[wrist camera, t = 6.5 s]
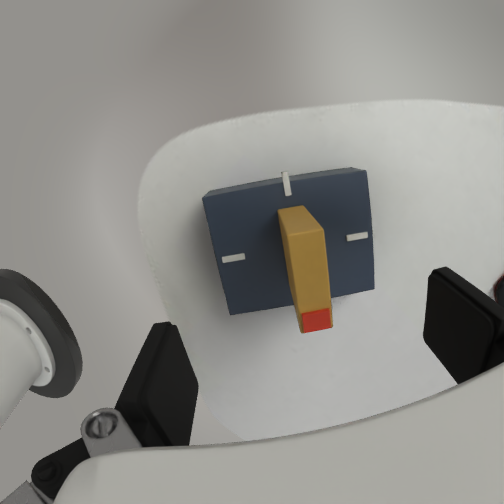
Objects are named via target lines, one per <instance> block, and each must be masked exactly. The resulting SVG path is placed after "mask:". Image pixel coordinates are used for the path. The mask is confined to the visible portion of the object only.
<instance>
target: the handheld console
mask: <svg viewBox="0 0 504 504" xmlns="http://www.w3.org/2000/svg"><path fill="white" fill-rule="evenodd" d="M495 294H496V299H497V303H498V304H499V305H501V306H502V307H503V308H504V277H503V278H502V279H501V280H500V281H499V282H498V284H497V285H496V289H495Z"/></svg>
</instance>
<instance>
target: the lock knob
mask: <svg viewBox="0 0 504 504" xmlns="http://www.w3.org/2000/svg"><path fill="white" fill-rule="evenodd" d="M277 212H278V218H279V224H280V230H281V236H282V242H283V248H284V254H285V260H286V267H287V273H288V279H289V286H290V290H291V294H292V298H293V302H294V306H295V311H296V315H297V319H298V323H299V328H300V332H301V333H307V332H313V331H318V330H323V329H328V328H332V326H333V321H332V308H331V295H330V284H329V273H328V263H327V254H326V245H325V236H324V230H323V228H322V227H321V226H320V224H319V223H318V222H317V221H316V220H315V218H314V217H313V216H312V215H311V214H310V213H309V211H308V210H307V209H306V208H305V207H304V206H303V205H301V206H295V207H289V208H283V209H278V210H277Z"/></svg>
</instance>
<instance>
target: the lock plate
mask: <svg viewBox="0 0 504 504" xmlns="http://www.w3.org/2000/svg"><path fill="white" fill-rule="evenodd" d="M281 173H282V177H281V178H276V179H270V180H264V181H258V182H253V183H247V184H242V185H237V186H232V187H226V188H221V189H216V190H212V191H209V192H208V193H207V194H206V195H205V196H204V197H203V198H202V200H203V204H204V209H205V213H206V218H207V222H208V227H209V231H210V235H211V240H212V244H213V248H214V252H215V256H216V261H217V265H218V269H219V273H220V277H221V281H222V285H223V289H224V293H225V297H226V301H227V305H228V309H229V313H230V315H235V314H241V313H248V312H254V311H261V310H267V309H273V308H279V307H285V306H290V305H294V302H293V298H292V294H291V290H290V286H289V279H288V273H287V267H286V260H285V254H284V248H283V242H282V236H281V230H280V224H279V218H278V212H277V210H278V209H283V208H289V207H295V206H301V205H303V206H304V207H305V208H306V209H307V210H308V211H309V213H310V214H311V215H312V216H313V217H314V218H315V220H316V221H317V222H318V223H319V224H320V226H321V227H322V228H323V230H324V236H325V245H326V254H327V263H328V273H329V284H330V295H331V298H333V297H338V296H343V295H348V294H353V293H358V292H363V291H367V290H372V289H374V255H373V236H372V222H371V209H370V199H369V189H368V180H367V172H366V170H361V169H357V168H352V167H350V168H342V169H335V170H327V171H320V172H313V173H307V174H300V175H294V176H288V171H286V172H281Z"/></svg>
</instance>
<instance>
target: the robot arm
mask: <svg viewBox="0 0 504 504" xmlns="http://www.w3.org/2000/svg"><path fill="white" fill-rule="evenodd" d="M423 338H424V341H425V343H426V344H427V345H428V347H429V348H430V349H431V350H432V352H433V353H434V354H435V355H436V357H437V358H438V359H439V360H440V362H441V363H442V364H443V365H444V367H445V368H446V369H447V371H448V372H449V373H450V374H451V376H452V377H453V378H454V380H455V381H456V382H457V384H458V385H456V386H454V387H451V388H449V389H447V390H444V391H442V392H440V393H437V394H435V395H432V396H430V397H427V398H424V399H422V400H419V401H416V402H414V403H411V404H408V405H405V406H402V407H399V408H396V409H393V410H390V411H387V412H384V413H381V414H377V415H374V416H371V417H367V418H364V419H360V420H356V421H353V422H349V423H345V424H341V425H337V426H332V427H328V428H323V429H319V430H314V431H309V432H304V433H299V434H293V435H287V436H281V437H275V438H268V439H261V440H253V441H244V442H234V443H223V444H211V445H192V446H189V442H190V436H191V430H192V424H193V418H194V413H195V407H196V400H197V395H198V381H197V378H196V376H195V373H194V371H193V368H192V366H191V363H190V361H189V358H188V355H187V353H186V350H185V347H184V345H183V342H182V339H181V336H180V333H179V331H178V328H177V326H176V325H172V324H171V323H170V322H162V323H155V324H154V325H153V326H152V328H151V330H150V332H149V335H148V336H147V339H146V340H145V343H144V345H143V347H142V349H141V351H140V353H139V355H138V357H137V359H136V361H135V364H134V366H133V368H132V370H131V372H130V374H129V377H128V379H127V381H126V383H125V385H124V388H123V390H122V392H121V394H120V396H119V399H118V401H117V403H116V406H115V408H114V409H113V408H102V409H98V410H96V411H94V412H92V413H91V414H89V415H88V416H87V417H86V418H85V419H84V421H83V422H82V424H81V435H82V438H80V439H78V440H77V441H75V442H73V443H71V444H69V445H67V446H65V447H64V448H62V449H60V450H58V451H56V452H54V453H52V454H50V455H49V456H46V457H45V458H43V459H41V460H40V461H38V462H37V463H36V465H35V466H34V468H33V470H32V474H31V478H32V482H31V483H29V482H28V481H27V480H26V481H25V482H24V483H23V484H22V485H21V486H19V487H18V488H17V489H16V490H15V491H14V492H12V493H11V494H10V495H9V496H8V497H7V498H6V499H4V500H3V501H2V502H1V503H0V504H504V308H503V307H502V306H501V305H499V304H498V303H497V302H495V301H494V300H493V299H491V298H490V297H489V296H487V295H486V294H485V293H483V292H482V291H481V290H479V289H478V288H476V287H475V286H474V285H472V284H471V283H469V282H468V281H467V280H465V279H464V278H462V277H461V276H460V275H458V274H457V273H455V272H454V271H452V270H451V269H449V268H448V267H442V268H438V269H435V270H433V271H432V273H431V275H429V277H428V290H427V303H426V313H425V323H424V331H423ZM55 370H56V368H55V360H54V356H53V353H52V351H51V348H50V346H49V344H48V342H47V340H46V338H45V337H44V335H43V334H42V332H41V330H40V329H39V328H38V327H37V325H36V324H35V323H34V321H33V320H32V319H31V318H30V317H29V316H28V315H27V314H26V313H25V312H24V311H23V310H21V309H20V308H19V307H18V306H16V305H15V304H13V303H11V302H9V301H7V300H4V299H0V429H1V427H2V426H3V424H4V423H5V421H6V420H7V419H8V417H9V415H10V414H11V413H12V411H13V410H14V409H15V407H16V406H17V404H18V403H19V402H20V400H21V399H22V398H23V396H24V395H25V393H26V392H27V391H28V389H29V388H30V387H31V385H34V386H45V385H47V384H48V383H49V382H50V381H51V380H52V378H53V377H54V375H55Z"/></svg>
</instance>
